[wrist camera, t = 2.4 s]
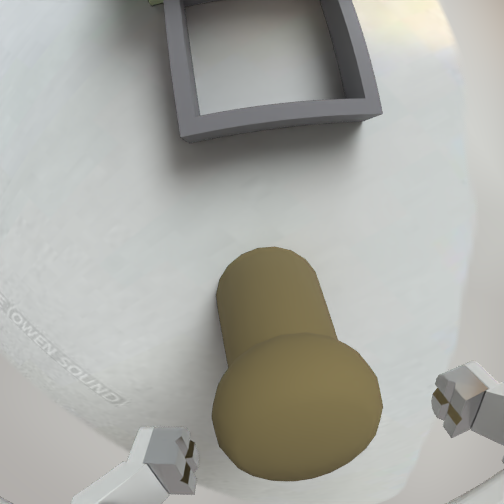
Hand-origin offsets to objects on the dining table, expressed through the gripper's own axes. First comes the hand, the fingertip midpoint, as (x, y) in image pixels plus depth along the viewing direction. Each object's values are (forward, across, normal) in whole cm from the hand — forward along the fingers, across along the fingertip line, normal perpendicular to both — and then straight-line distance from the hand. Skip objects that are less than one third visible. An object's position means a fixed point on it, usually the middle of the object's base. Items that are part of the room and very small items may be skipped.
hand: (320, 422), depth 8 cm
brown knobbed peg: (+10, +1, 0) cm, 10 cm away
